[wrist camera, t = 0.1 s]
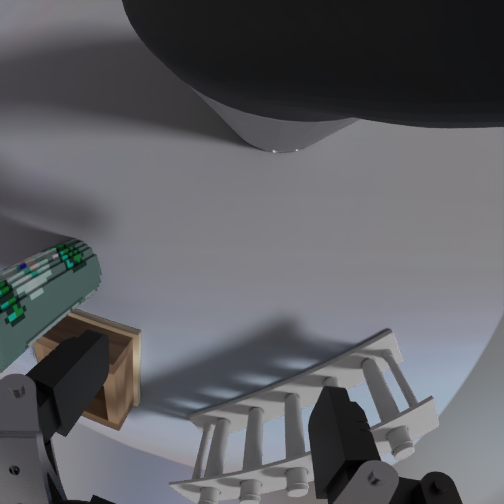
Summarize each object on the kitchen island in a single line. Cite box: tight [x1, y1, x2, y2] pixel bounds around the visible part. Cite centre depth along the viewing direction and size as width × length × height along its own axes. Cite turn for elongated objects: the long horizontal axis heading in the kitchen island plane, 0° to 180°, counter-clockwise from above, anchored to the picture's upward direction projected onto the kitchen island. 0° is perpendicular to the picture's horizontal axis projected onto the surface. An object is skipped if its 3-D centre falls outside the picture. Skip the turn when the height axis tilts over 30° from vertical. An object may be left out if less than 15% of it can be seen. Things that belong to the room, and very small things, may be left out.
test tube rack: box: [169, 329, 439, 504], centre depth 24 cm, size 25×4×13 cm, turn 120°
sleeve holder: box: [34, 309, 141, 431], centre depth 28 cm, size 11×11×6 cm
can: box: [0, 239, 102, 373], centre depth 21 cm, size 6×6×15 cm
